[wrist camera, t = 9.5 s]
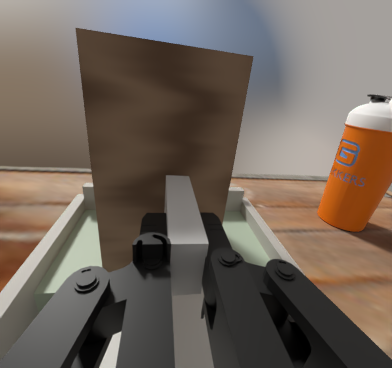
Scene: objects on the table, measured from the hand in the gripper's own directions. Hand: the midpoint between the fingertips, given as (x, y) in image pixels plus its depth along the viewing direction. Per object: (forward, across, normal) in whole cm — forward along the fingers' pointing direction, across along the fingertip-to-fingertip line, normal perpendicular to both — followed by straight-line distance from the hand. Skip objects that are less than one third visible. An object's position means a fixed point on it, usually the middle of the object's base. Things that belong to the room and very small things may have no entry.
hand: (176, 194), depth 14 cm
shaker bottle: (+14, +30, -12) cm, 35 cm away
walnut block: (+5, -1, -8) cm, 9 cm away
